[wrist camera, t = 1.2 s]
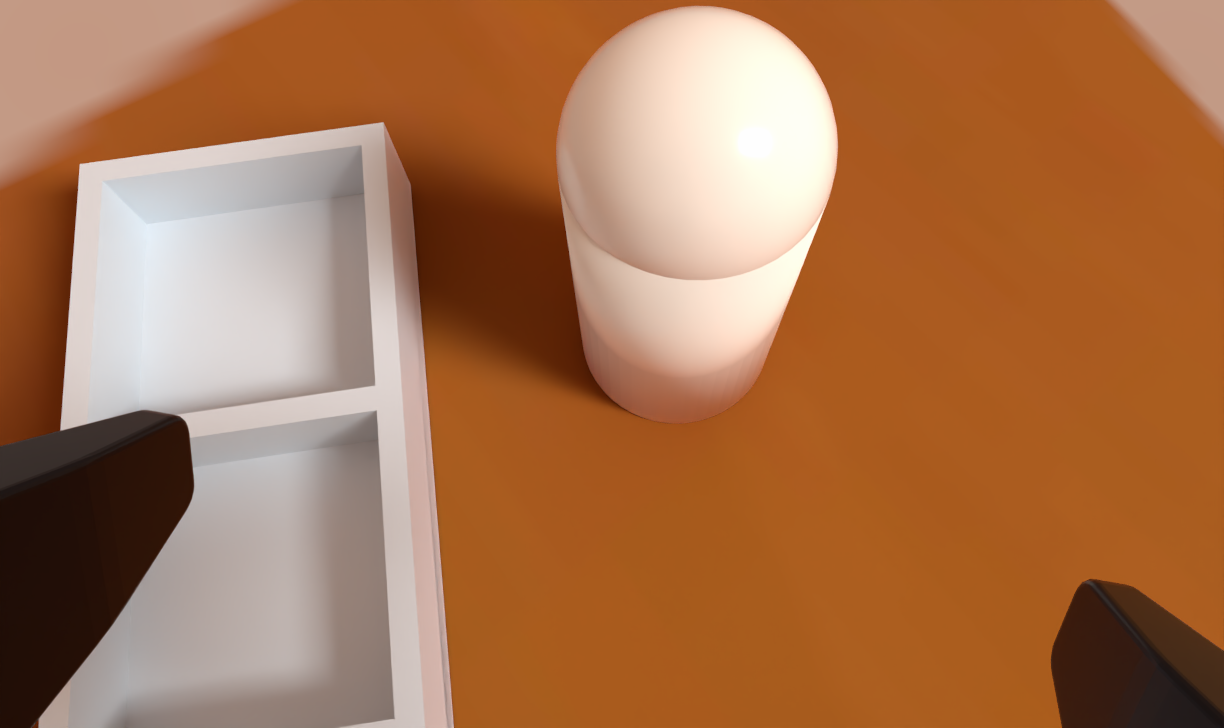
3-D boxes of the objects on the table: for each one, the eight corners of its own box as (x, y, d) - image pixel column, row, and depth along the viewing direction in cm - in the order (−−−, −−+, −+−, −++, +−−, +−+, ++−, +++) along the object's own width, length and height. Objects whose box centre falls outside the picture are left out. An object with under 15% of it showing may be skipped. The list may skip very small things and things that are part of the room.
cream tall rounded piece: (700, 460, 23) (756, 265, 12) (545, 355, 24) (477, 97, 14) (802, 313, 24) (928, 28, 14) (651, 221, 25) (663, -107, 15)
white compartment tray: (484, 1119, 18) (457, 1197, 15) (98, 1186, 18) (-3, 1278, 15) (410, 184, 26) (383, 122, 23) (140, 222, 26) (79, 164, 23)
